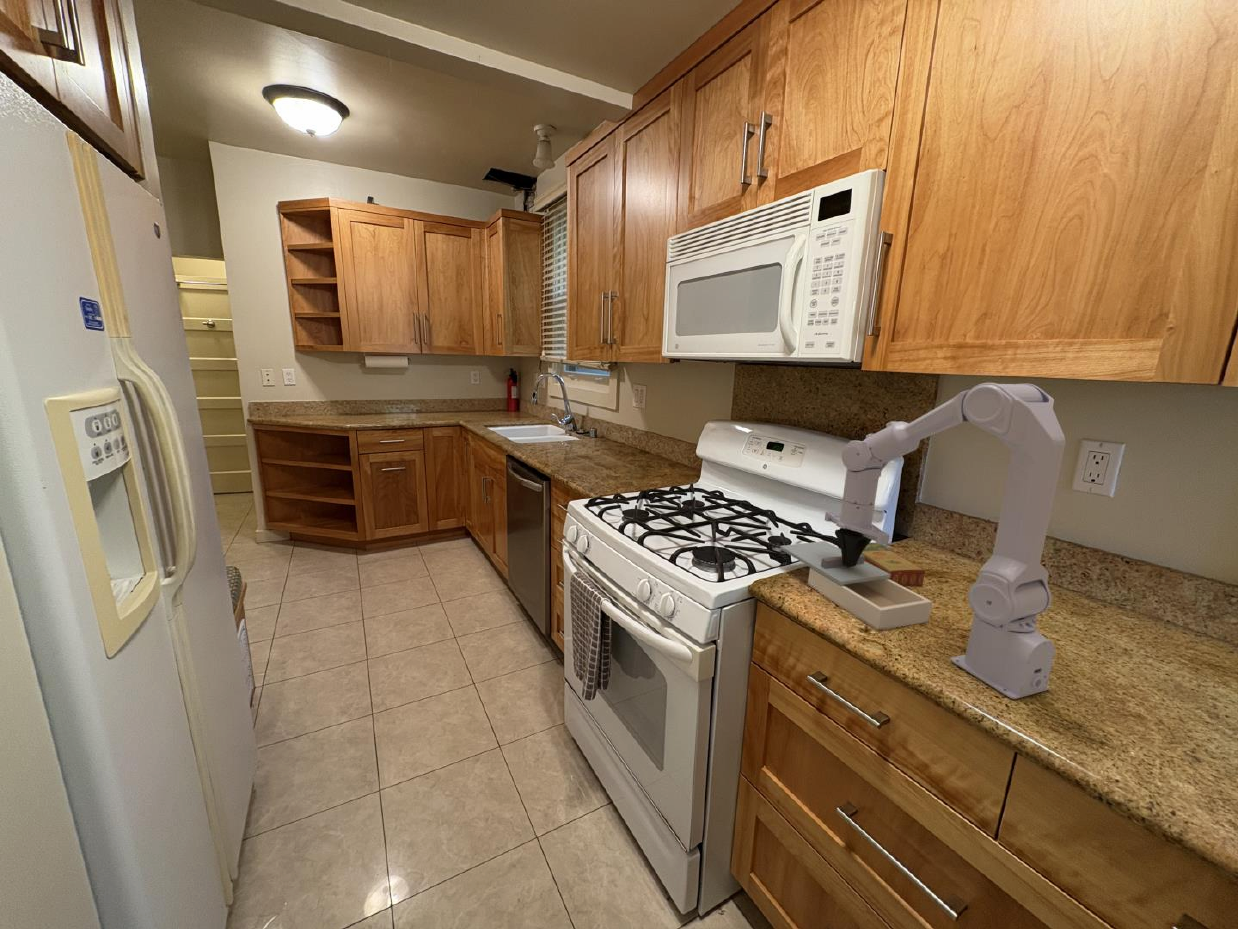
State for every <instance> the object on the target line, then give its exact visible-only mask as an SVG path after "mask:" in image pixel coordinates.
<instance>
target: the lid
mask: <svg viewBox="0 0 1238 929" xmlns="http://www.w3.org/2000/svg"><path fill="white" fill-rule="evenodd" d="M779 550H780V551H783V552H785V553H786V554H787V555H789V556H790V557H791V556H792V557H793V558H794V559H796V560H798V561H799V562H801V563H802V564H804V565H806V566H808V567H809V568H813V569H814V570H816V571H818V572H819V573H821V574H823V575H824V576H826V577H828V578H829V579H831V580H833V581H834V582H836V583H838V584H839V585H845V584H851V583H858V582H865V581H872V580H878V579H885V578H890V576H891V574H889V573H887V572H885V571H883V570H881V569H879V568H877V567H875V566H873V565H871V564H869V563H867V562H865V561H864V560H865V556H864V555H862V554H861V555H860V557H859V559H858V561H857V564H856V566H853V567H847V566H845V565H843V560H842V553H841V548H840V547H837V546H835V545H833V544H831V543H829V542H827V541H826V540H822V541H813V542H804V543H796V544H787V545H780V547H779Z"/></svg>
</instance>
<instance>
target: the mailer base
mask: <svg viewBox="0 0 1238 929" xmlns="http://www.w3.org/2000/svg"><path fill="white" fill-rule="evenodd" d="M808 572H809V574H808V580H807V586H808V585H809V586H810V587H809V586H808V587H809V588H811V589H812V588H813V590H814V589H815V590H817V591H818V592H819V594H820V595H821V594H822V595H821V596H823V595H824V596H823V597H824V598H826V597H827V598H826V599H828V600H829V601H830V602H832V601H833V602H832V603H834V604H835V605H837V606H838V607H840V608H841V607H842V609H843V610H844V609H845V611H846V612H847V613H849V614H850V613H851V614H850V615H852V614H853V615H852V616H854V617H855V618H856V619H859V621H861V620H862V621H861V622H863V623H864V622H865V624H866V625H867V626H868V627H870V626H871V627H870V628H872V627H873V628H874V630H875V631H876V630H877V632H881V630H882V631H887V630H892V629H896V627H898V628H902V627H901V626H903V627H907V626H908V627H909V626H912V625H913V626H914V625H917V624H923V623H928V621H930V615H931V610H932V605H933V601H932V600H930V599H928V598H926V597H925V596H922V595H920V594H918V593H916V592H914V591H913V590H911V589H909V588H907V587H903V586H901V585H899V584H897V583H895V582H894V581H892V580H890V579H888V578H885V579H878V580H872V581H865V582H858V583H851V584H845V585H839V584H838V583H836V582H834V581H833V580H831V579H829V578H828V577H826V576H824V575H823V574H821V573H819V572H818V571H816V570H814V569H813V568H811V567H809V571H808ZM815 590H814V591H815ZM817 591H816V592H817ZM818 592H817V593H818ZM873 628H872V629H873ZM891 628H892V629H891ZM886 629H887V630H886Z"/></svg>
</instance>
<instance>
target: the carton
mask: <svg viewBox="0 0 1238 929" xmlns="http://www.w3.org/2000/svg"><path fill="white" fill-rule="evenodd" d="M861 554H862V555H864V556H865V560H864V561H865V562H867V563H869V564H871V565H873V566H875V567H877V568H879V569H881V570H883V571H885V572H887V573H889V574H891V576H890V578H888V579H890V580H892V581H894V582H895V583H897V584H899V585H901V586H915V587H922V586H923V585H924V584H923V583H924V579H925V575H926V569H924V568H923V567H922V566H919V565H918V564H916V563H914V562H912V561H910V560H909V559H907V558H905V557H903V556H902V555H900V554H898V553H897V552H895V551H893V550H891V549H890V548H887V547H886V545H879V544H877V543H876V541H873V542H870V543H869V544H868V545H867V546H866V547H865V549H864V550H863V552H862V553H861Z"/></svg>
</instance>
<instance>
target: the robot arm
mask: <svg viewBox="0 0 1238 929" xmlns="http://www.w3.org/2000/svg"><path fill="white" fill-rule="evenodd" d="M1054 404H1055V399H1054V398H1053V397H1052V396H1051V395H1049V394H1048V393H1046V392H1045V391H1044V390H1043V389H1042V388H1040V387H1039V386H1037V385H1035V384H1032V383H1024V382H1023V383H1021V382H1020V383H996V382H985V383H984V382H983V383H980V384H977V385H975V386H974V387H972V388H971V389H967V390H964V391H962V392H959V393H958V394H956V396H954V397H953V398H951V399H949V400H947V401H946V402H944V403H943V404H941V405H938V407H936V408H934V409H932V410H931V411H929V412H927V413H925V414H923V415H921V416H920V417H918V418H916V419H914V420H913V421H911V422H910V423H909V422H906V421H889V422H888V423H886V424H885V426H886V427H885V428H884V429H881V430H880V431H877V432H875V433H869V434H867V435H865V439H863V441H862V440H858V439H857V440H850V441H849V443H846V445H845V446H844V447H843V449H842V452H841V459H842V463H843V465H844V466H845V468H846V473H845V480H844V487H843V495H842V503H841V509H840V512H837V511H834V510H830V511H829V510H828V511H825V513H824V514H825V515H824V521H826V522H831V523H833V524H835V525H836V526H837V527H839V529H835V531H834V535H835V536H836V539H837V541H838V544H839V549H841V553H842V560H843V565H845V566H847V567H853V566H856V564H857V561H858V559H859V557H860V555H861V553H862V552H863V550H864V549H865V547H866V546H867V545H868V544H869V543H872V541H873V542H876V543H877V544H879V545H883V546H886V545H889V541H890V534H889V533H887V532H885V531H884V530H882V529H881V528H879V527H877V526H876V525H874V524H873V518H874V510H875V505H876V497H877V493H878V492H877V491H878V486H879V479H880V477H881V476H882V472H883V470H884V468H886V466H888V465H889V462H891V461H894V460H896V459H898V458H900V457H902V456H905V455H907V454H909V453H912V452H914V451H916V450H917V449H918V448H919V445H920V442H921V440H923V439H925V438H928V437H930V436H933V435H936V434H937V433H938V434H939V433H940V432H943V431H945V430H947V429H950V428H952V427H955V426H957V425H960V424H962V423H971V424H972V425H974V426H976V427H977V428H980V429H982V430H984V431H985V432H988V433H989V434H991V435H993V436H996V437H997V438H998V439H999V440H1000V441H1001V442H1002V443H1003V444H1004V445H1005V446H1006V447H1007V448H1009V449H1010V450H1011V456H1010V463H1009V468H1008V472H1007V478H1006V484H1005V488H1004V492H1003V493H1004V495H1003V497H1002V502H1001V503H1002V504H1001V509H1000V514H999V518H998V519H999V520H998V524H997V530H996V535H995V540H994V546H993V550H992V554H991V556H990V557H989V559H988V560H987V561H986V562H985V563H984V564H983V566H982V567H981V568H980V569H979V573H978V578H977V579H976V581H975V582H974V583H972V585H971V586H970V588H969V590H968V592H967V600H968V604H969V607H970V609H971V610H972V612H973V617H972V624H971V626H970V631H969V636H968V641H967V647H966V651H965V654H962V655H961V654H960V655H957V656H952V657H950V661H951V662H952V664H954V665H957V666H958V667H959V668H961V669H963V670H965V671H966V672H968V673H969V674H971V675H972V676H974V677H975V678H977V679H978V680H980V681H982V682H984V683H985V684H987V685H989V686H990V687H992V688H993V689H995V690H996V691H998V692H1000V693H1001V694H1003V695H1005V696H1006V697H1009V699H1012V700H1016V699H1020V698H1024V697H1027V696H1030V695H1035V694H1038V693H1042V692H1045V691H1049V690H1050V687H1051V686H1049V685H1048V683H1049V679H1050V675H1051V671H1052V667H1053V664H1054V658H1055V655H1056V646H1055V644H1054V643H1053V641H1051V640H1050V639H1048V638H1046V637H1045V636H1044V635H1042V634H1041V633H1040V632H1039V630H1037V618H1038V615H1041V614H1043V613H1044V612H1046V611H1047V610H1048V609H1049V608H1050V606H1051V605H1052V592H1051V591H1050V588H1049V585H1048V583H1049V582H1048V581H1049V575H1050V574H1049V573H1050V572H1049V571H1048V570H1047V569H1046V568H1045V567H1044V565H1043V564H1041V560H1042V556H1043V551H1044V546H1045V542H1046V536H1047V532H1048V528H1049V523H1050V518H1051V513H1052V509H1053V503H1054V500H1055V495H1056V490H1057V486H1058V481H1059V476H1060V471H1061V466H1062V463H1063V457H1064V452H1065V448H1066V438H1065V434H1064V432H1063V430H1062V427H1061V424H1060V423H1059V421H1058V418H1057V415H1056V413H1055V411H1054Z"/></svg>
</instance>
